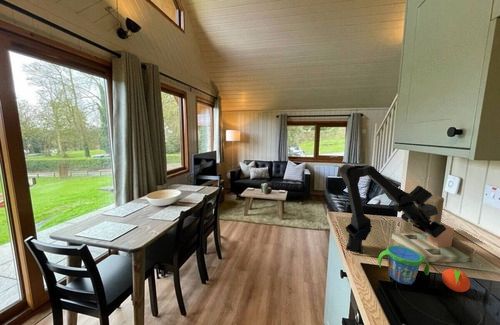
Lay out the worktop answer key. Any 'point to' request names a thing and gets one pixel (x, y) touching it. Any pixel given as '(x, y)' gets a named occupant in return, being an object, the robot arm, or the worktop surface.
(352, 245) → the robot arm
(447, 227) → the terracotta block
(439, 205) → the wooden block
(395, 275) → the snack cup
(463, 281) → the clementine
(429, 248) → the beige flat square piece
